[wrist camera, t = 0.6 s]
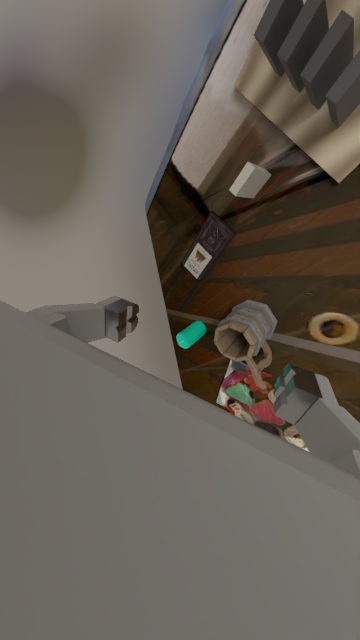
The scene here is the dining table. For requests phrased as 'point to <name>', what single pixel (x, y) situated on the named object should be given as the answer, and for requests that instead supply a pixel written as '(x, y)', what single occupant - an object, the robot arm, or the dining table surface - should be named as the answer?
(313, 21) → the domino
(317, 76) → the domino
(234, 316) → the tankard
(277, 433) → the platter
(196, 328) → the candle
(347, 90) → the domino
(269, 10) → the domino
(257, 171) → the domino
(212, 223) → the chocolate bar
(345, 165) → the birch board
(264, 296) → the dining table surface
